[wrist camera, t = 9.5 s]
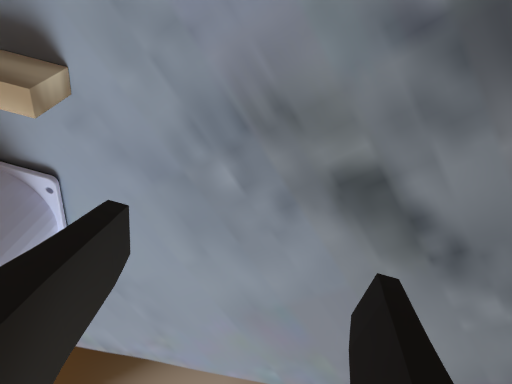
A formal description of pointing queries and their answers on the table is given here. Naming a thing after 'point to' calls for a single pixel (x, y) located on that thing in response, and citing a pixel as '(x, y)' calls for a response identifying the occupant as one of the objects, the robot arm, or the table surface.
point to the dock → (31, 84)
